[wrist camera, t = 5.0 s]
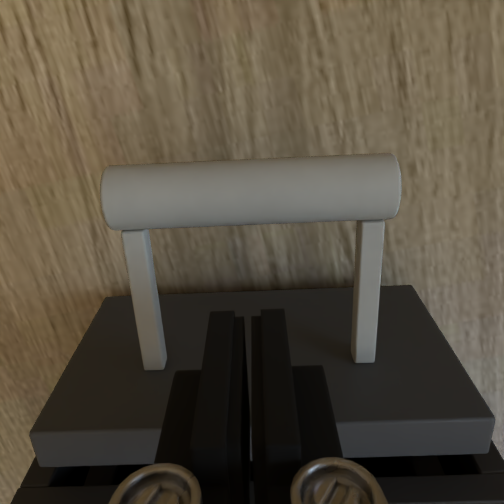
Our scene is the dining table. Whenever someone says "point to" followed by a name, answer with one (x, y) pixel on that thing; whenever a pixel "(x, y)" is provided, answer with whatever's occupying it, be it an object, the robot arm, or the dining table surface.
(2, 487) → the dining table surface
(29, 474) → the cabinet
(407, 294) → the drawer
